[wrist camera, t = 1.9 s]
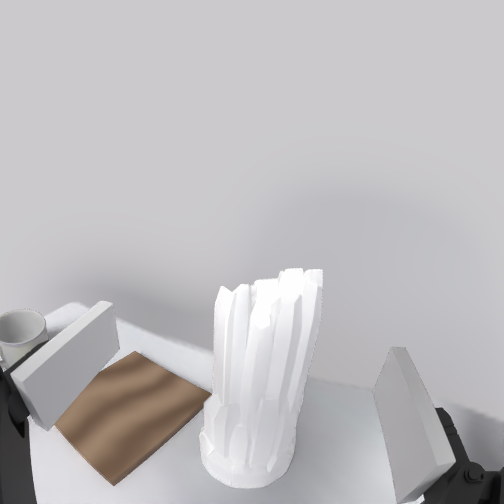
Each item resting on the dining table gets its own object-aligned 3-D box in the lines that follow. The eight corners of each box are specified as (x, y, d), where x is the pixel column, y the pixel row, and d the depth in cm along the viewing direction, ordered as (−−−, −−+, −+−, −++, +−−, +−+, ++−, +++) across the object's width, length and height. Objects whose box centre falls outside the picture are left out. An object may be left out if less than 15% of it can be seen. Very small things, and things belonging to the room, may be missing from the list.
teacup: (38, 338, 42) (27, 302, 40) (67, 362, 39) (55, 322, 36) (-14, 367, 30) (-30, 329, 27) (8, 400, 26) (-12, 359, 24)
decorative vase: (183, 455, 27) (164, 257, 20) (237, 411, 36) (252, 234, 28) (258, 504, 21) (306, 312, 14) (306, 446, 30) (361, 262, 22)
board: (211, 399, 38) (211, 393, 37) (113, 486, 20) (110, 481, 20) (135, 356, 44) (135, 350, 44) (43, 411, 27) (40, 405, 27)
